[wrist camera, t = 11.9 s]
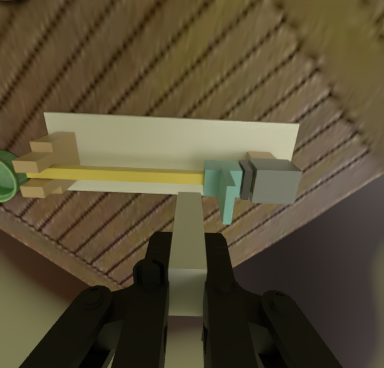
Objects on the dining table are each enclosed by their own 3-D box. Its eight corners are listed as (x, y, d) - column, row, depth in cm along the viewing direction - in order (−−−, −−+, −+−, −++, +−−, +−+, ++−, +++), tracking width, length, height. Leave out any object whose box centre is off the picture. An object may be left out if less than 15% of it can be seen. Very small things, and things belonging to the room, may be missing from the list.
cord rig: (47, 111, 38) (-12, 124, 27) (296, 122, 39) (338, 140, 27) (64, 186, 44) (20, 223, 33) (279, 195, 44) (308, 233, 33)
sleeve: (204, 156, 34) (208, 185, 25) (237, 158, 34) (254, 187, 25) (202, 187, 36) (205, 223, 27) (233, 188, 36) (247, 224, 27)
